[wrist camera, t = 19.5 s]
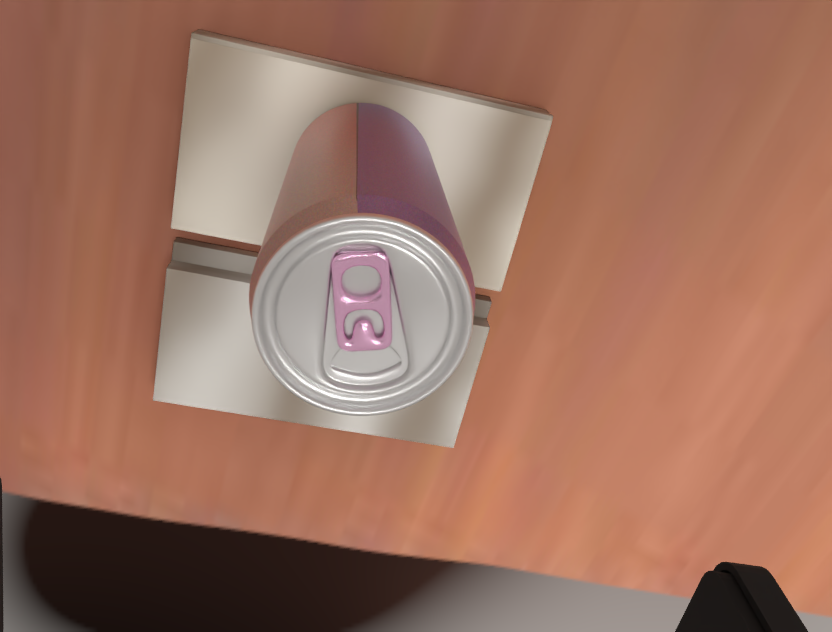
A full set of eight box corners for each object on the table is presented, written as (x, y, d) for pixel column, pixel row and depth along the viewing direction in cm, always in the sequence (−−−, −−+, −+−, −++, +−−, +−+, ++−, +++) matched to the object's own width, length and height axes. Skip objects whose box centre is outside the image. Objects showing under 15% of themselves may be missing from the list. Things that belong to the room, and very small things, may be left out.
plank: (545, 109, 34) (553, 116, 32) (495, 278, 37) (500, 291, 36) (199, 29, 32) (191, 32, 30) (178, 216, 35) (170, 228, 33)
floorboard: (489, 296, 38) (494, 310, 36) (450, 430, 41) (453, 447, 39) (176, 237, 35) (168, 249, 34) (160, 383, 38) (152, 400, 37)
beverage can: (431, 97, 32) (483, 203, 18) (432, 234, 34) (479, 417, 21) (285, 102, 31) (228, 213, 18) (298, 240, 34) (257, 429, 20)
